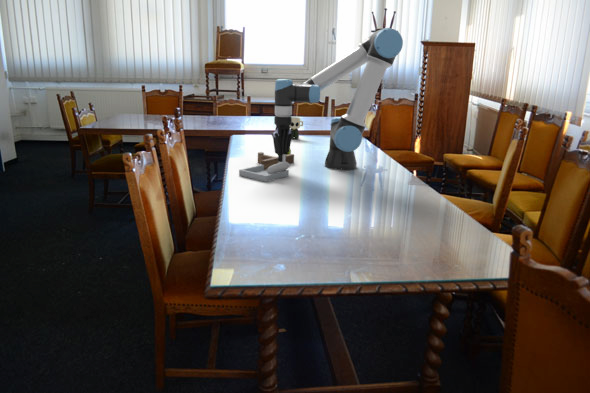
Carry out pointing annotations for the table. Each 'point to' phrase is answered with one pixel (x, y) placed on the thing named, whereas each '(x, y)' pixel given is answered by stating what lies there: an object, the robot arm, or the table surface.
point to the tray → (261, 173)
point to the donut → (278, 167)
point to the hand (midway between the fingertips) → (281, 168)
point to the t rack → (272, 159)
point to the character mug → (295, 126)
